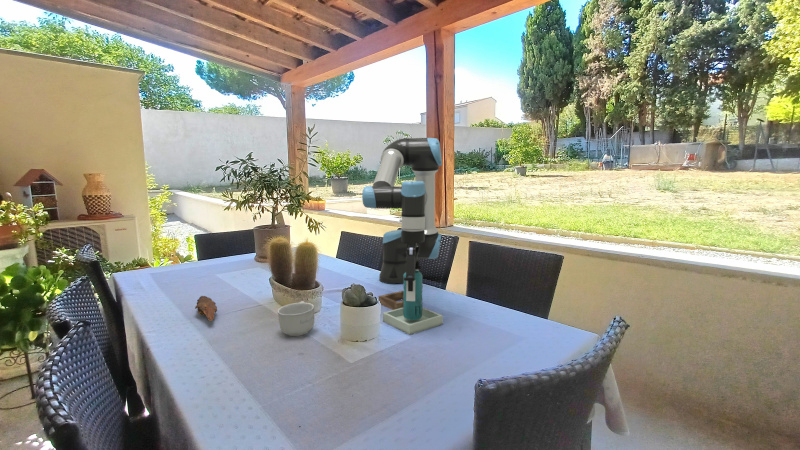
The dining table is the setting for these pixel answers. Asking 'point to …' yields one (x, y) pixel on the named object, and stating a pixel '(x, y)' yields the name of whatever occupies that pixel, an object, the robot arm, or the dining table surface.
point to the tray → (412, 321)
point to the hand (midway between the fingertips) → (412, 294)
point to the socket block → (392, 300)
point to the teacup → (296, 318)
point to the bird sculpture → (206, 307)
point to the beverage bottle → (415, 308)
